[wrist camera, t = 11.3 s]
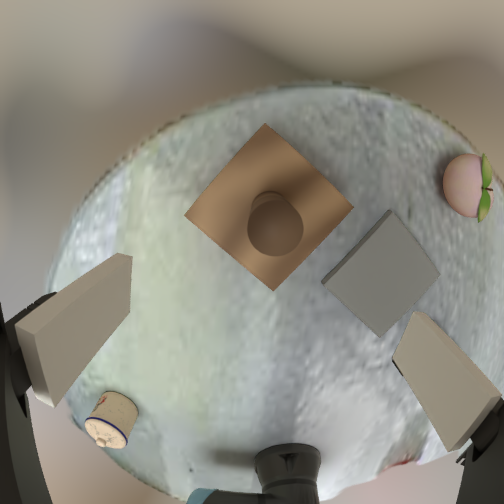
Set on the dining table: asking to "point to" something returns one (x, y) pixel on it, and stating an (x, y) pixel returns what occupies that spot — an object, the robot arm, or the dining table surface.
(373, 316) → the mat
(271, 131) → the lid
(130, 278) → the robot arm
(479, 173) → the decorative fruit
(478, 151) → the dining table surface
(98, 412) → the teacup with lid
